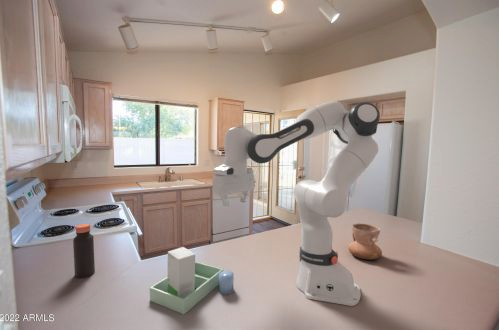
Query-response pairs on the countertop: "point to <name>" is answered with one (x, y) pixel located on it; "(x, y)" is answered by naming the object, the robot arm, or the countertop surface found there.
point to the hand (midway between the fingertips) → (234, 203)
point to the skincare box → (181, 272)
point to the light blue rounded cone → (226, 282)
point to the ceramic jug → (365, 242)
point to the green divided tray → (203, 282)
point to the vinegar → (83, 251)
